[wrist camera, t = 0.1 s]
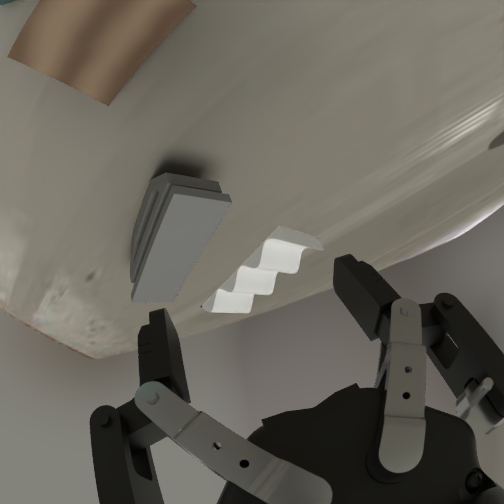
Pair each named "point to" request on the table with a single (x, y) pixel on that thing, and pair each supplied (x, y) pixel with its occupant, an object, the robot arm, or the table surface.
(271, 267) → the white corrugated sheet
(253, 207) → the table surface
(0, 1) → the teal block
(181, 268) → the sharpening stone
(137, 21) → the walnut block
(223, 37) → the table surface
